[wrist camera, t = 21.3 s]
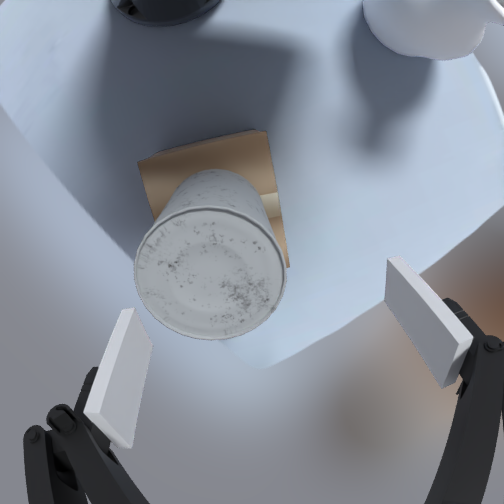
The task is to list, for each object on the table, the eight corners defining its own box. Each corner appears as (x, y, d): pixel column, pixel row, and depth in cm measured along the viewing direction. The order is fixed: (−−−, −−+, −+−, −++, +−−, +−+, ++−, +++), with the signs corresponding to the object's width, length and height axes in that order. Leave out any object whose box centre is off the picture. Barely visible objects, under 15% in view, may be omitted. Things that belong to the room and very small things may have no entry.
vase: (436, 79, 32) (545, 84, 14) (348, 43, 30) (446, 4, 12) (441, 1, 26) (536, -21, 8) (358, -38, 24) (436, -100, 6)
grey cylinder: (194, 274, 32) (181, 356, 21) (150, 195, 28) (105, 246, 17) (278, 239, 31) (306, 310, 20) (240, 152, 27) (250, 177, 16)
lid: (139, 161, 28) (137, 162, 27) (265, 130, 27) (266, 131, 27) (179, 286, 34) (178, 290, 33) (288, 263, 34) (290, 267, 33)
